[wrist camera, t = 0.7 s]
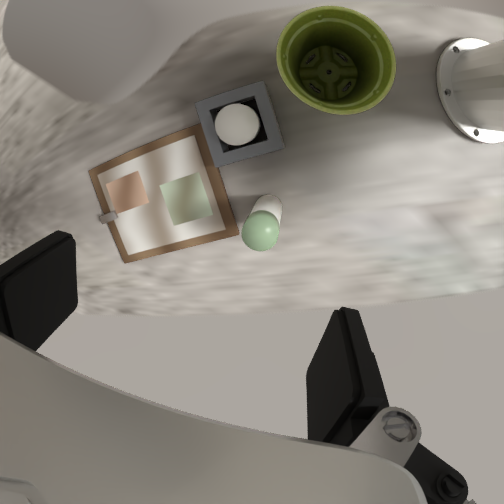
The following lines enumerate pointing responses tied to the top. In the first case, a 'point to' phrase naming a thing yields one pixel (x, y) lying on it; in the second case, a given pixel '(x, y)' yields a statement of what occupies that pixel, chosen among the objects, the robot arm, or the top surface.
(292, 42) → the plant pot
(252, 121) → the button cap
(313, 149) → the top surface
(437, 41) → the top surface
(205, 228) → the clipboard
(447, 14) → the top surface
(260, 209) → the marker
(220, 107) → the button box
